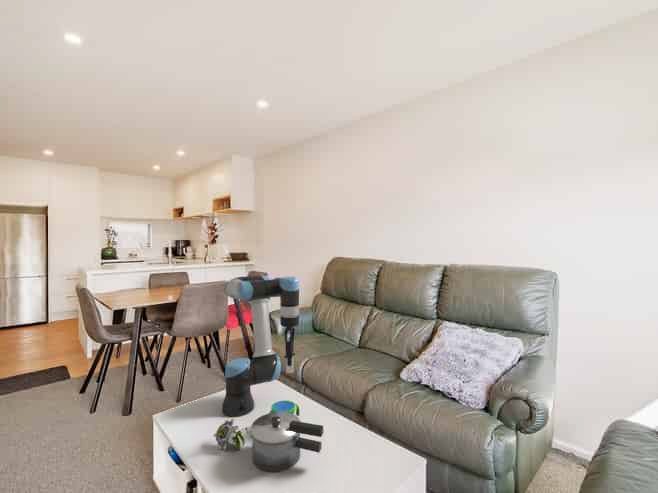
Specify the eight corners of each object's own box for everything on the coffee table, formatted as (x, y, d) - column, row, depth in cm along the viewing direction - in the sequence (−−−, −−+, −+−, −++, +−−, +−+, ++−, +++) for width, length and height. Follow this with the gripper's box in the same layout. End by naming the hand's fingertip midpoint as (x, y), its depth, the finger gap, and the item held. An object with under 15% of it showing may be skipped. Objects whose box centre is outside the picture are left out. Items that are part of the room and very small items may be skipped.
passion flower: (221, 462, 132) (205, 435, 134) (241, 442, 141) (226, 418, 143) (236, 456, 126) (219, 428, 128) (255, 436, 135) (239, 410, 137)
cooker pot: (268, 437, 139) (267, 414, 139) (328, 451, 130) (328, 426, 129) (242, 465, 122) (242, 438, 122) (310, 484, 113) (310, 455, 112)
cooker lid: (241, 439, 121) (240, 428, 121) (265, 413, 139) (265, 403, 139) (313, 453, 113) (313, 441, 112) (329, 423, 131) (329, 413, 130)
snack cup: (294, 417, 154) (293, 396, 154) (305, 428, 145) (305, 405, 145) (262, 428, 145) (261, 405, 145) (271, 441, 137) (271, 416, 136)
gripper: (297, 319, 128) (297, 379, 130) (300, 311, 141) (300, 365, 143) (278, 319, 128) (278, 379, 130) (282, 311, 141) (282, 365, 143)
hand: (289, 372), depth 136 cm, fingers closed
